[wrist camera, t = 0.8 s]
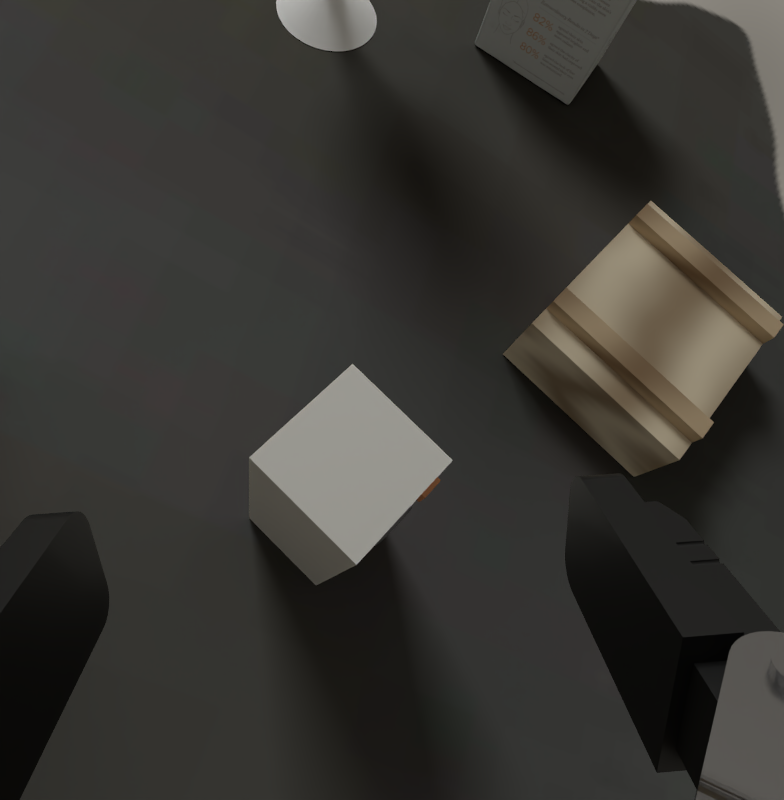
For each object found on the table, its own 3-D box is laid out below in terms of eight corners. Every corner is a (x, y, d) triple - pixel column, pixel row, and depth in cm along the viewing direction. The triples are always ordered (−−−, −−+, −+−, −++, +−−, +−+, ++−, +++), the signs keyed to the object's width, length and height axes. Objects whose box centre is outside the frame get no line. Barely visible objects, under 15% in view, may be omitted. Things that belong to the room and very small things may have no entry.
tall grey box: (249, 518, 30) (249, 457, 19) (316, 454, 31) (352, 364, 20) (319, 588, 29) (361, 569, 18) (382, 520, 31) (457, 464, 20)
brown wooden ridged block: (502, 354, 36) (538, 316, 31) (613, 238, 40) (659, 191, 36) (633, 477, 35) (690, 456, 30) (732, 345, 39) (793, 310, 35)
